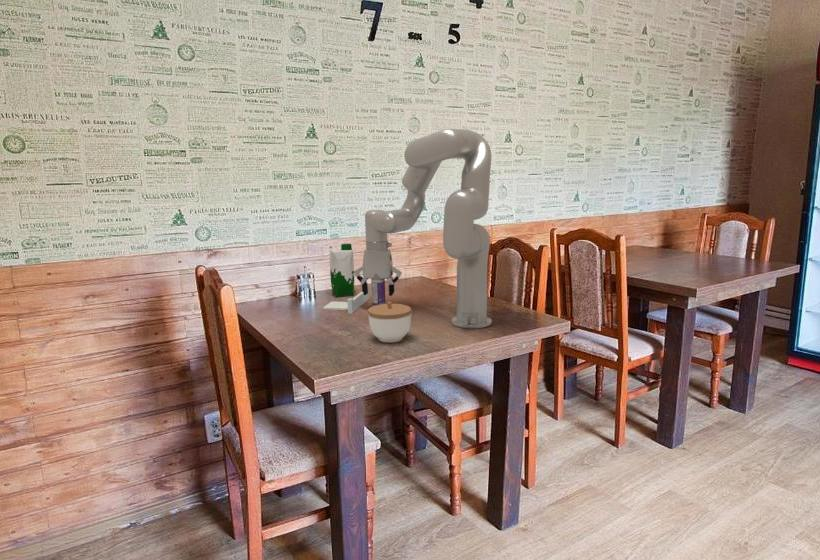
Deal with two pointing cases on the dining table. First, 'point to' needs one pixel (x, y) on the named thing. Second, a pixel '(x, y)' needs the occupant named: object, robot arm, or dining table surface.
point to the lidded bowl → (389, 321)
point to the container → (378, 290)
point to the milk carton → (342, 271)
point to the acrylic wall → (357, 301)
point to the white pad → (336, 306)
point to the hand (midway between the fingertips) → (378, 294)
